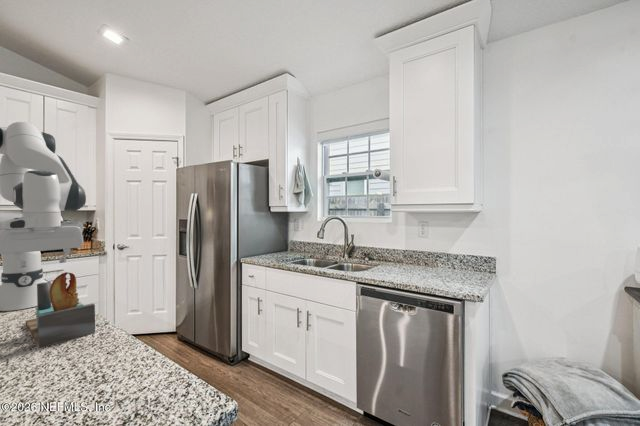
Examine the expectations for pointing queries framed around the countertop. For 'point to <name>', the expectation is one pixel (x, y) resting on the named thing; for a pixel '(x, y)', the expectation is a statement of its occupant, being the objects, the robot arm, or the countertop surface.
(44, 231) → the robot arm
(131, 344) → the countertop surface
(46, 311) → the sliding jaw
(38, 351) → the countertop surface
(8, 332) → the countertop surface
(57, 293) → the crab claw
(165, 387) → the countertop surface
